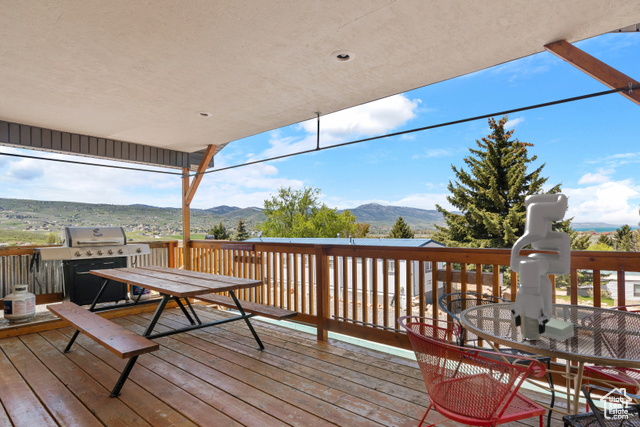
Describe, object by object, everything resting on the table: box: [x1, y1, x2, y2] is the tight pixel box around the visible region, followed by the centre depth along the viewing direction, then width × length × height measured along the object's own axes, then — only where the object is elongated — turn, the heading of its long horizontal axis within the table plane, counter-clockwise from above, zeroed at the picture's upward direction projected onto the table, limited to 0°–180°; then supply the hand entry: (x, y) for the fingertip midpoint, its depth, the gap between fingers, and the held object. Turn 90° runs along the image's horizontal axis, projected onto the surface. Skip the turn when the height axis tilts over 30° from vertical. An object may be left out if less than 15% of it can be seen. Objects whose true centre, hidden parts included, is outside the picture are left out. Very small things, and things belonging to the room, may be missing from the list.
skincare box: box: [520, 312, 541, 341], centre depth 151 cm, size 6×4×12 cm
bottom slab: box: [540, 330, 575, 342], centre depth 153 cm, size 10×10×3 cm
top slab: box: [539, 318, 574, 337], centre depth 153 cm, size 10×10×3 cm
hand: (529, 329), depth 150 cm, fingers open, 9 cm apart
